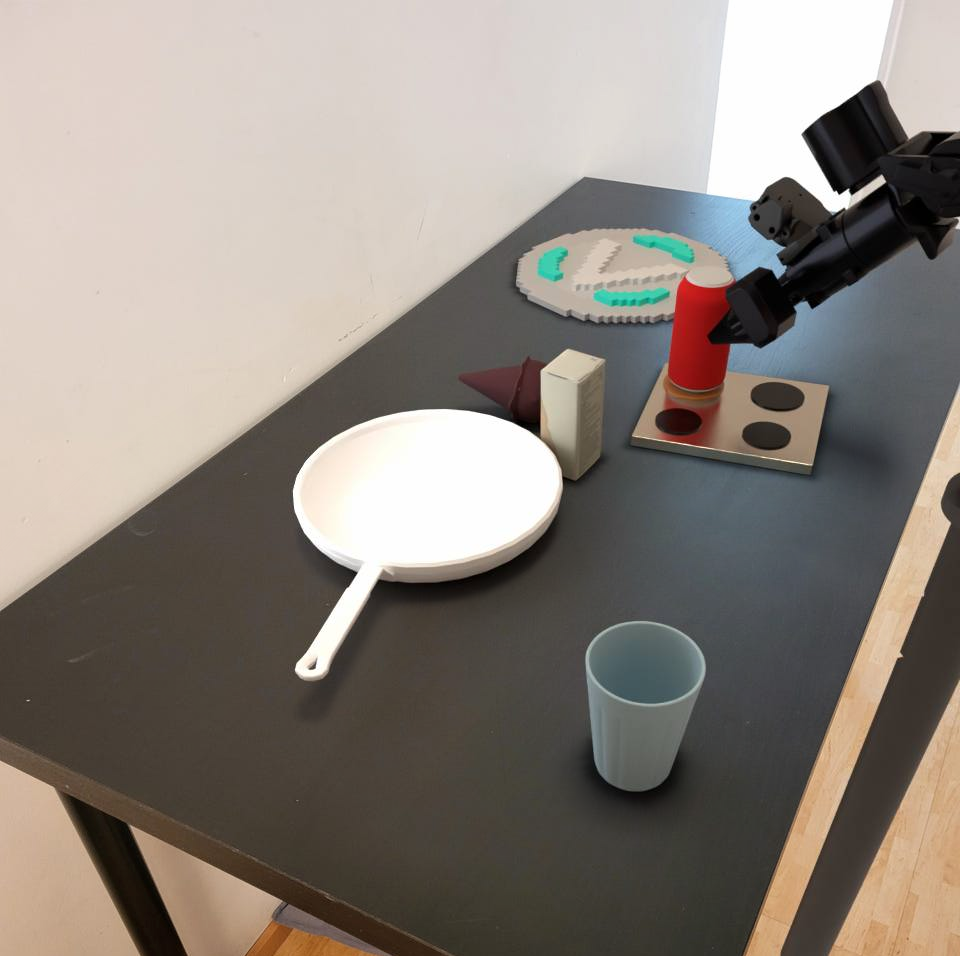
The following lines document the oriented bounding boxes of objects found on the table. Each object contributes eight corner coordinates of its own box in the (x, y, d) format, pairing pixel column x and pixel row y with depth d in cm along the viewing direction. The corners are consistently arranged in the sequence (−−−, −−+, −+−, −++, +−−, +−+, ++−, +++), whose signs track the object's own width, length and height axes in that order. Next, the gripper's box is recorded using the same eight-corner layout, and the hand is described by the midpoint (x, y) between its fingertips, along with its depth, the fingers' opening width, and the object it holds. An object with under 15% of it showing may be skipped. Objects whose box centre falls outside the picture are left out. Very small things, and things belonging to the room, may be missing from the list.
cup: (706, 752, 68) (727, 651, 61) (652, 824, 64) (667, 724, 56) (617, 706, 71) (626, 605, 64) (560, 771, 67) (563, 671, 60)
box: (566, 445, 97) (569, 345, 89) (602, 457, 95) (608, 357, 87) (538, 469, 94) (539, 369, 86) (574, 483, 92) (579, 381, 84)
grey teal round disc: (475, 275, 128) (475, 263, 126) (618, 218, 140) (618, 207, 139) (627, 345, 112) (628, 332, 111) (772, 274, 124) (774, 262, 123)
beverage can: (699, 403, 99) (715, 294, 91) (654, 382, 103) (666, 275, 94) (735, 383, 102) (754, 274, 94) (691, 363, 105) (705, 257, 97)
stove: (827, 395, 102) (829, 383, 101) (810, 475, 92) (813, 463, 91) (664, 371, 107) (665, 360, 106) (630, 445, 97) (631, 434, 96)
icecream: (445, 376, 95) (588, 405, 93) (467, 327, 99) (605, 354, 96) (449, 424, 101) (583, 452, 99) (469, 376, 105) (600, 402, 102)
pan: (588, 460, 95) (590, 423, 92) (469, 751, 69) (466, 712, 66) (361, 427, 101) (356, 391, 98) (172, 682, 75) (157, 644, 72)
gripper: (865, 127, 86) (740, 224, 99) (763, 187, 76) (639, 285, 89) (925, 234, 87) (794, 315, 100) (832, 305, 78) (700, 385, 91)
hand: (734, 322), depth 95 cm, fingers open, 9 cm apart
